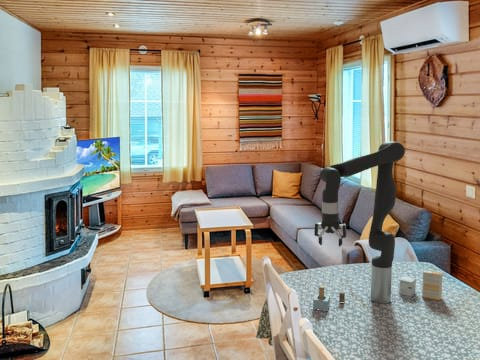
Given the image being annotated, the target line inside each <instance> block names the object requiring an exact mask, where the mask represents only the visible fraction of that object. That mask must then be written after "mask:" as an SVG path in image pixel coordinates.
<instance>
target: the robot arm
mask: <svg viewBox="0 0 480 360" xmlns="http://www.w3.org/2000/svg"><path fill="white" fill-rule="evenodd" d="M377 150H378V151H375V152H371V153H368V154H365V155H360V156H356V157H353V158H350V159H348V160H345V161H343V162H341V163H340V162H339V163H337V164H332V165H328V166H326V167H323V169H321V171H320V173H319V177H320V179H321V181H323V182H325V188H324V189H323V190H322V195H321V196H322V197H321V198H322V204H321V222H317V221H316V222H315V224H314V236H315V237H318V244H319V245H320V246H322V245H323V235H324V234H325V233H326V234H335V236H337V237H338V247H341V246H342V245H343V239H346V237H347V225H346V223H342V224H340V222H339V220H340V219H339V218H340V217H339V216H340V213H339V212H340V211H339V210H340V209H339V208H340V206H339V190H340V187H341V186H340V185H341V180H342V178H348V177H351V176H354V175H356V174H359V173H362V172H364V171H366V170H369V169H372V168H375V167H377V174H376V175H377V177H376V183H375V191H374V193H375V194H374V205H373V212H372V213H373V214H372V220H371V225H370V230H369V233H368V234H369V235H368V246H369V247H370V249H373V250H376V251H378V252H380V255H377V256H374V257H372V259H371V274H370V275H371V276H370V278H371V279H370V300H371V301H372V302H375V303H376V304H377V303H378V304H388V303H391V300H392V294H391V293H392V279H393V277H392V276H393V275H392V274H393V272H392V271H393V262H394V257H395V247H396V239H395V235H394V234H393V233H391V232H386V231H383V225H384V222H385V219H386V218H387V217H388V216H389V214H390V213H391V212H392V211H393V208H394V207H395V206H396V205H395V204H396V198H397V187H396V182H395V178H394V173H393V169H394V163H395V162H399V161H400V160H402V159H403V157H404V156H405V154H406V153H405V152H406V149H405V147H404V145H403V144H402V143H400V142H399V141H384V142H382V143H381V144H380V145H379V146H378V149H377ZM320 227H321V229H322V230H321V231H320V232H319V228H320ZM340 229H341V230H342V233H341V231H340Z"/></svg>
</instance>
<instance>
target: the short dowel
mask: <svg viewBox="0 0 480 360" xmlns="http://www.w3.org/2000/svg"><path fill="white" fill-rule="evenodd" d="M345 294H346V293H345V292H342V291H341V292H339V294H338V295H339V296H338V297H339V299H338V300H339V301H338V303H339V302H344V303H345Z"/></svg>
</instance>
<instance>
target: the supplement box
mask: <svg viewBox="0 0 480 360" xmlns="http://www.w3.org/2000/svg"><path fill="white" fill-rule="evenodd" d="M443 272H444V271H438V270H433V269H425V268H424V270H423V271H422V290H421V291H422V292H421V298H422V299H429V300H435V301H441V299H442V294H443V292H442V291H443Z"/></svg>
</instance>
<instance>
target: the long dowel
mask: <svg viewBox="0 0 480 360" xmlns="http://www.w3.org/2000/svg"><path fill="white" fill-rule="evenodd" d="M318 294H319V299H323V300H324V295H325V287H324V286H322V285H321V286H318Z"/></svg>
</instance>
